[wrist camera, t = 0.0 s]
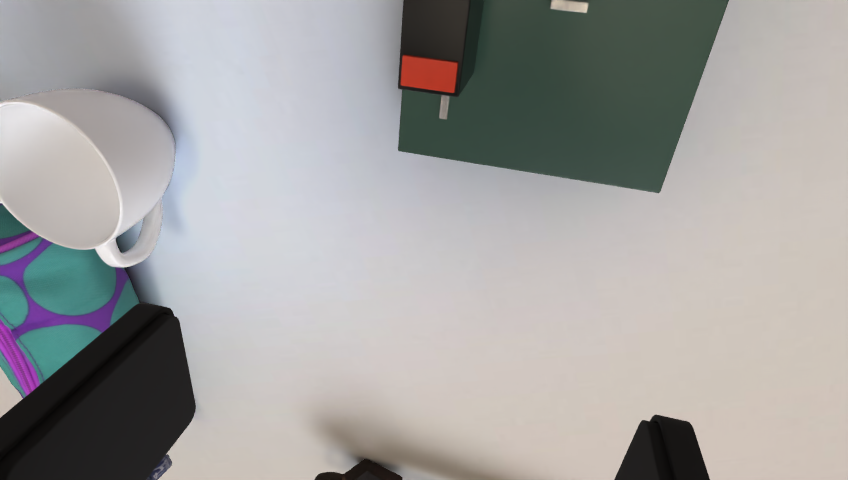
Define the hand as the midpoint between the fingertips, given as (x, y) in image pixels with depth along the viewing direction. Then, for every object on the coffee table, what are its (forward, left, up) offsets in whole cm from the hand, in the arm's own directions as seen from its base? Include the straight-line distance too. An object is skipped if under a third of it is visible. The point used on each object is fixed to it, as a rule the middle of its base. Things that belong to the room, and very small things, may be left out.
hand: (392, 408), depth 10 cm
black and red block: (-7, -2, -15) cm, 17 cm away
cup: (+4, -20, -18) cm, 27 cm away
